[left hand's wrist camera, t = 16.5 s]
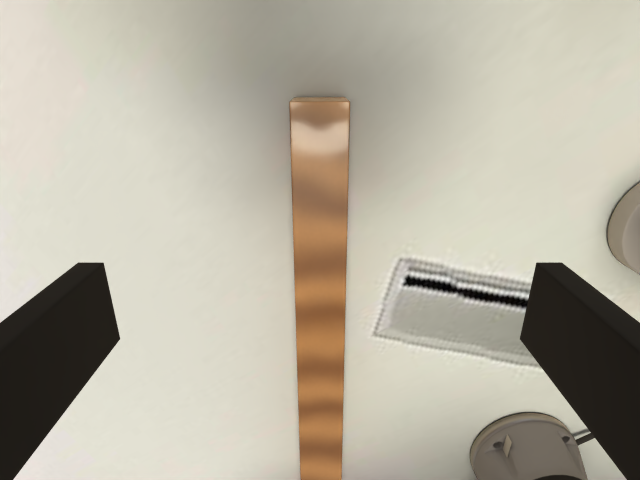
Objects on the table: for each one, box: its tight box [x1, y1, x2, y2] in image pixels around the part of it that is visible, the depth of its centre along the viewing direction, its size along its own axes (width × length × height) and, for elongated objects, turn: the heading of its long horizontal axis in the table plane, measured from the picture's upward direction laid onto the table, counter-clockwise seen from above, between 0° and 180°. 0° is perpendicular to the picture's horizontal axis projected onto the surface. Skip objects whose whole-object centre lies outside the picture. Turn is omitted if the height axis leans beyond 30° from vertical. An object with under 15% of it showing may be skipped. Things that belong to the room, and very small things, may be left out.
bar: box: [289, 97, 350, 480], centre depth 51 cm, size 59×6×7 cm, turn 0°
